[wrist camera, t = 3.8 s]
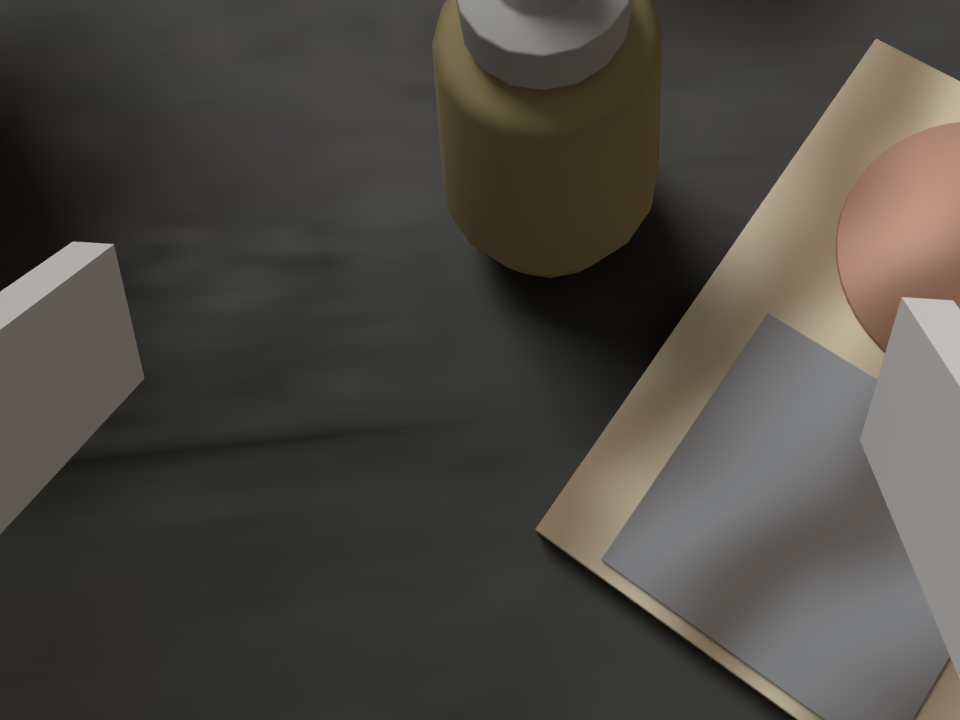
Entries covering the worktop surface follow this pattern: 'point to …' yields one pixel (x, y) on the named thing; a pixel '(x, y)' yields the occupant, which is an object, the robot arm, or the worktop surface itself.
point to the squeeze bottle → (548, 126)
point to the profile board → (792, 423)
